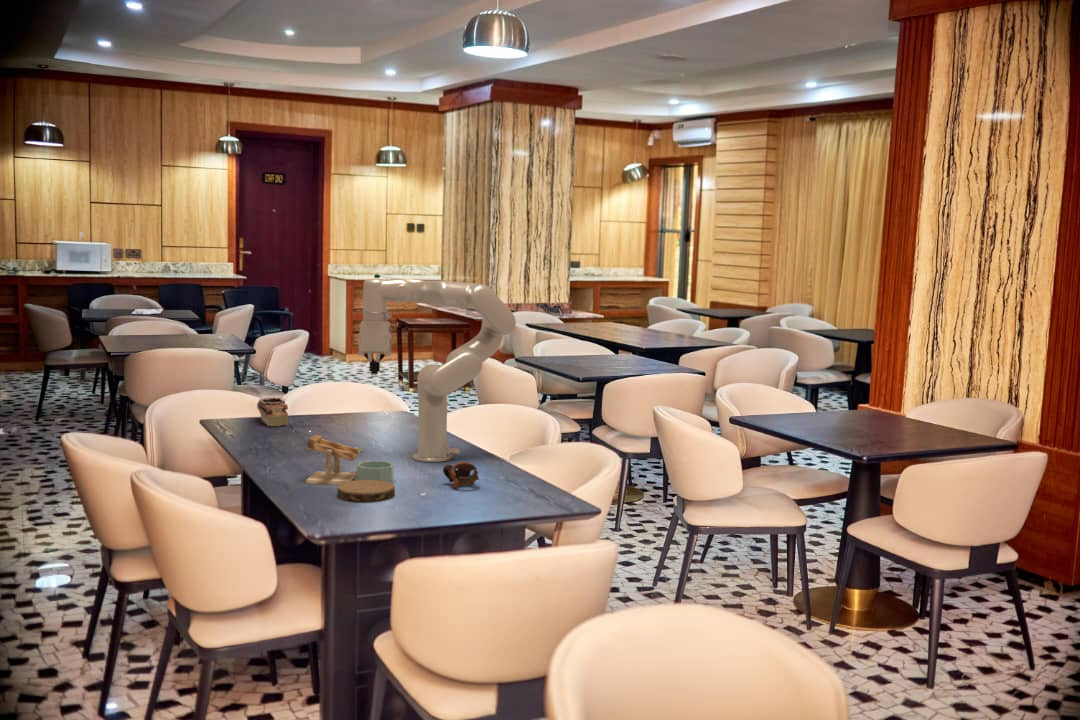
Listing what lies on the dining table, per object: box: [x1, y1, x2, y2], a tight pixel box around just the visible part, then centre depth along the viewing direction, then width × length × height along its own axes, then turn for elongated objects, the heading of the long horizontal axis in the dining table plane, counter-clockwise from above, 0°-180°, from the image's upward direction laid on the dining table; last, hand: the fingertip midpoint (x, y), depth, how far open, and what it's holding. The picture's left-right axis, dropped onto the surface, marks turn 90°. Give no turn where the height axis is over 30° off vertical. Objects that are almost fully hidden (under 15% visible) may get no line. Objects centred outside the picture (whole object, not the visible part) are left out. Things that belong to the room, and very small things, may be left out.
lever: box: [306, 434, 363, 462], centre depth 304 cm, size 14×16×3 cm
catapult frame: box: [305, 442, 357, 485], centre depth 301 cm, size 13×12×10 cm
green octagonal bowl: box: [356, 460, 395, 484], centre depth 301 cm, size 10×10×5 cm
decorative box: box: [256, 397, 289, 427], centre depth 394 cm, size 13×20×10 cm, turn 21°
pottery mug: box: [442, 461, 480, 490], centre depth 297 cm, size 12×10×8 cm
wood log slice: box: [337, 479, 396, 504], centre depth 283 cm, size 16×16×3 cm
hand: (374, 373), depth 325 cm, fingers closed
